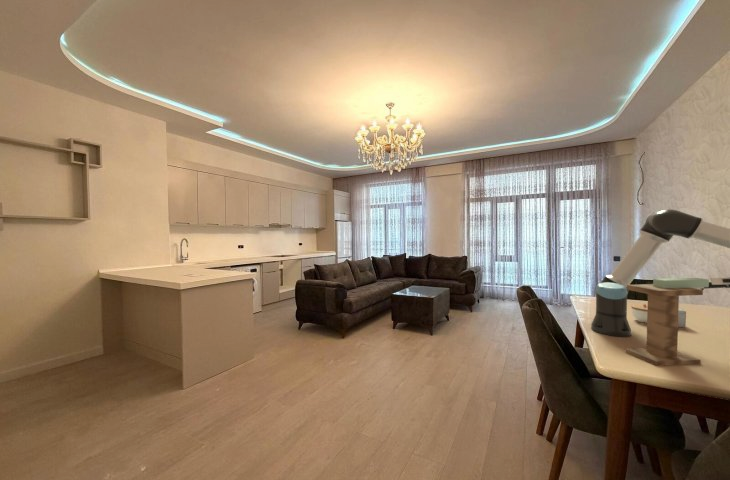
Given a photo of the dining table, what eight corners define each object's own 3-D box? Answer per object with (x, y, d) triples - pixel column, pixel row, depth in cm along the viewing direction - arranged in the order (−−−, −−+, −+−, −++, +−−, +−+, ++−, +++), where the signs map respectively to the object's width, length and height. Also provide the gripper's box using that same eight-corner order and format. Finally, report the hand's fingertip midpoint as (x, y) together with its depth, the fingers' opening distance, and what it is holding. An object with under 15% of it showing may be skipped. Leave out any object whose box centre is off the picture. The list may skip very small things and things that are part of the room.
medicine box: (682, 325, 152) (683, 309, 152) (685, 328, 149) (686, 311, 148) (661, 323, 157) (662, 307, 156) (664, 325, 153) (664, 309, 152)
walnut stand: (665, 350, 121) (667, 283, 120) (700, 363, 109) (703, 289, 108) (625, 352, 120) (627, 284, 119) (657, 365, 108) (659, 290, 107)
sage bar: (696, 285, 117) (696, 277, 117) (708, 287, 113) (708, 279, 113) (653, 286, 115) (653, 278, 115) (664, 288, 111) (664, 280, 111)
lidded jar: (631, 317, 167) (631, 301, 167) (657, 321, 160) (658, 304, 160) (630, 321, 160) (631, 304, 159) (658, 325, 152) (659, 308, 152)
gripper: (797, 287, 109) (728, 288, 114) (733, 294, 133) (677, 295, 137) (789, 267, 112) (721, 269, 116) (727, 278, 135) (672, 279, 139)
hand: (697, 283), depth 127 cm, fingers open, 13 cm apart
